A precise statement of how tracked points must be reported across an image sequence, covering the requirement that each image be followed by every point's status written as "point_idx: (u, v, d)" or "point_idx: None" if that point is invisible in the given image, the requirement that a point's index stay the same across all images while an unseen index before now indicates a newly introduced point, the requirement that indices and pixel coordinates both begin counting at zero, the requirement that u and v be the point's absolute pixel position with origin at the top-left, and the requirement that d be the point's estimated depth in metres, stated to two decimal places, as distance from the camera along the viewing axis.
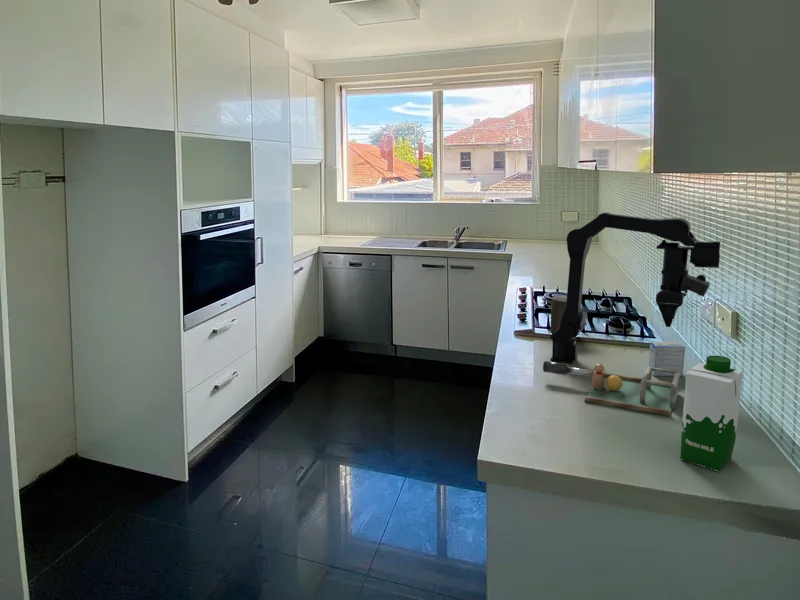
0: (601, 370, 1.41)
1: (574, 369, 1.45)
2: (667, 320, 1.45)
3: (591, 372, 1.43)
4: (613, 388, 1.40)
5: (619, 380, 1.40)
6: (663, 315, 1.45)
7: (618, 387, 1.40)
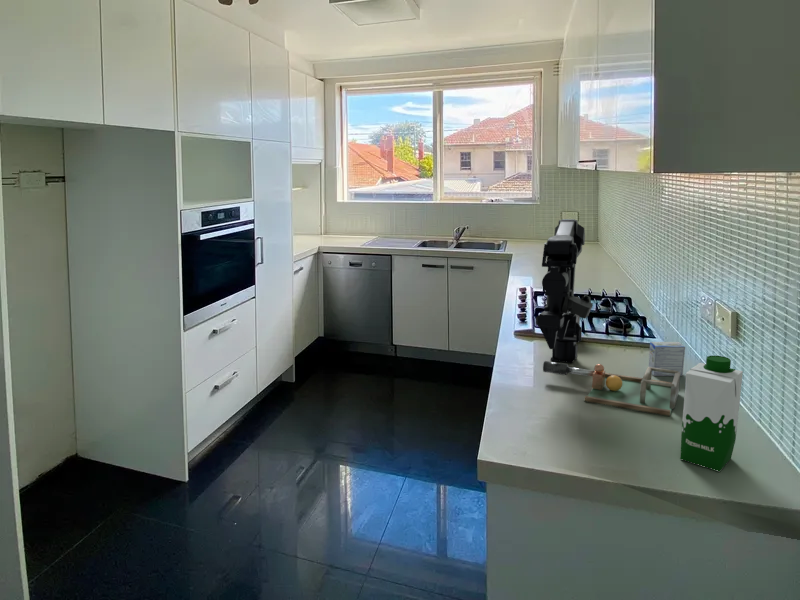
0: (601, 370, 1.41)
1: (574, 369, 1.45)
2: (550, 342, 1.43)
3: (591, 372, 1.43)
4: (613, 388, 1.40)
5: (619, 380, 1.40)
6: (545, 337, 1.42)
7: (618, 387, 1.40)
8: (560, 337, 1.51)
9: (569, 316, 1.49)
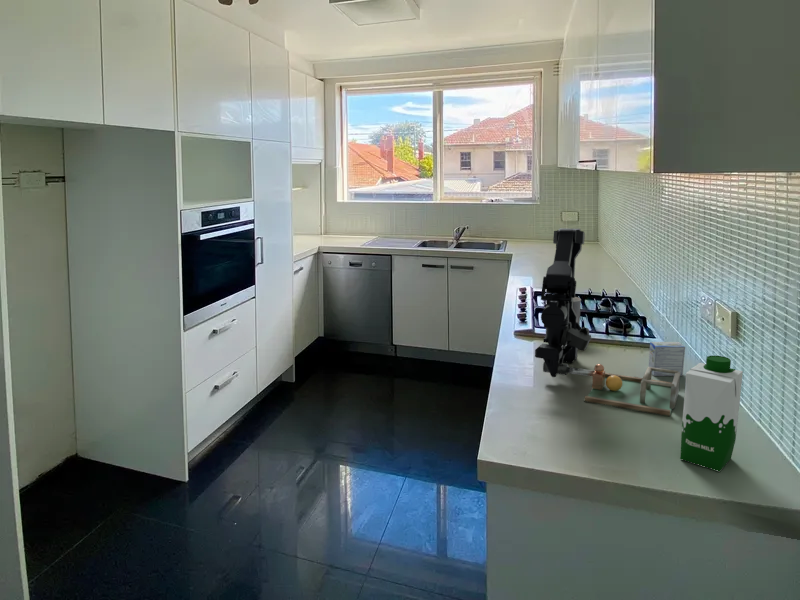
0: (601, 370, 1.41)
1: (574, 369, 1.45)
2: (552, 371, 1.47)
3: (591, 372, 1.43)
4: (613, 388, 1.40)
5: (619, 380, 1.40)
6: (548, 366, 1.47)
7: (618, 387, 1.40)
8: None
9: (565, 350, 1.48)
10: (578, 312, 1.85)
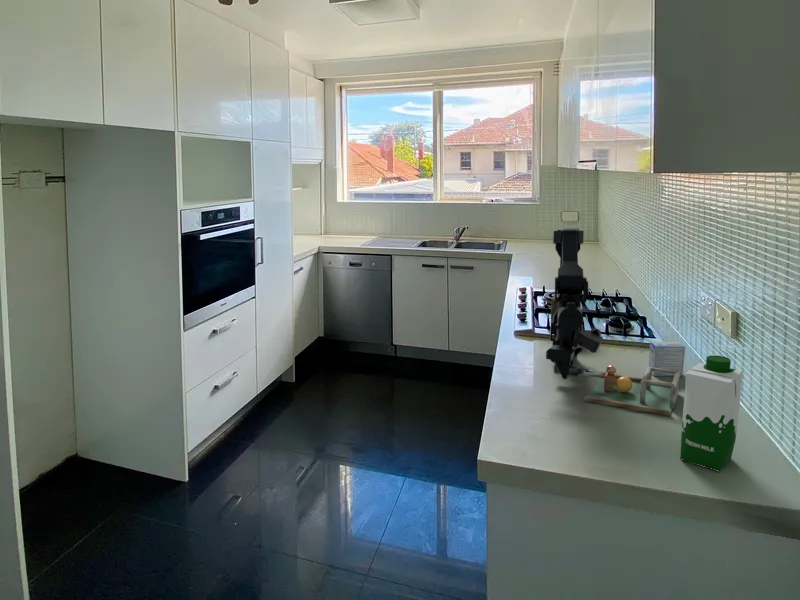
0: (613, 372, 1.40)
1: (585, 371, 1.44)
2: (563, 372, 1.45)
3: (603, 374, 1.42)
4: (619, 388, 1.39)
5: (630, 389, 1.39)
6: (559, 367, 1.45)
7: (622, 391, 1.39)
8: None
9: (576, 351, 1.47)
10: None
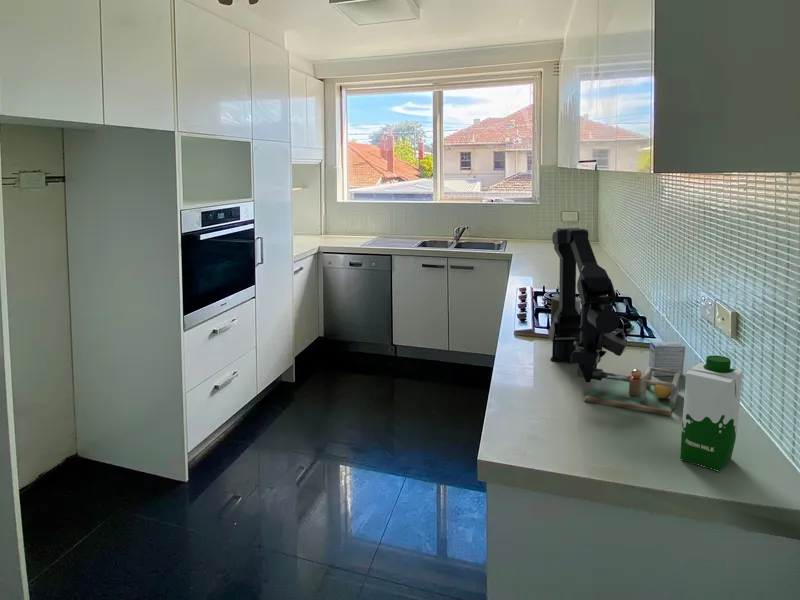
0: (638, 375, 1.37)
1: (609, 374, 1.41)
2: (586, 376, 1.42)
3: (628, 377, 1.39)
4: (664, 395, 1.34)
5: None
6: (582, 371, 1.42)
7: (668, 391, 1.34)
8: None
9: (599, 354, 1.44)
10: (578, 312, 1.85)
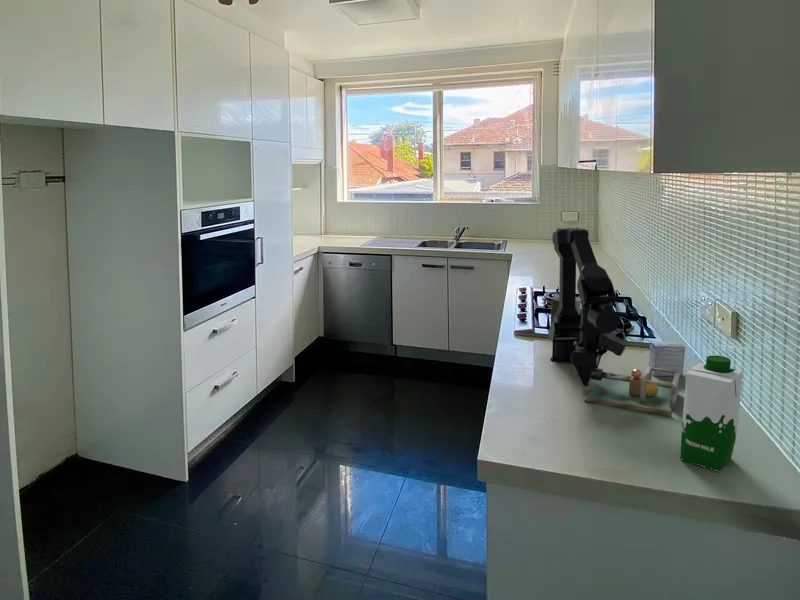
0: (639, 375, 1.37)
1: (610, 374, 1.41)
2: (584, 380, 1.40)
3: (628, 377, 1.39)
4: (651, 388, 1.35)
5: None
6: (580, 374, 1.40)
7: (647, 384, 1.36)
8: None
9: (602, 351, 1.46)
10: (578, 312, 1.85)
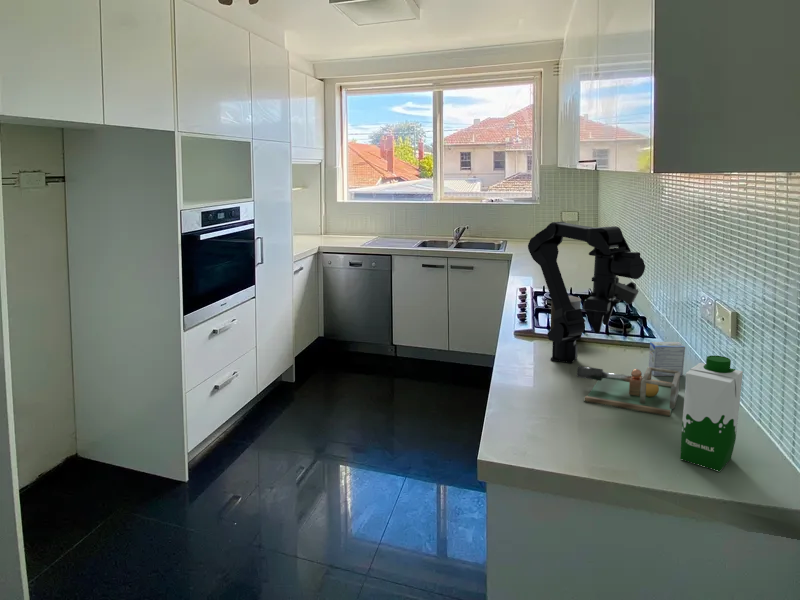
0: (639, 375, 1.37)
1: (610, 374, 1.41)
2: (596, 326, 1.48)
3: (628, 377, 1.39)
4: (651, 389, 1.35)
5: None
6: (592, 321, 1.48)
7: (648, 384, 1.36)
8: (604, 323, 1.57)
9: (614, 302, 1.55)
10: None
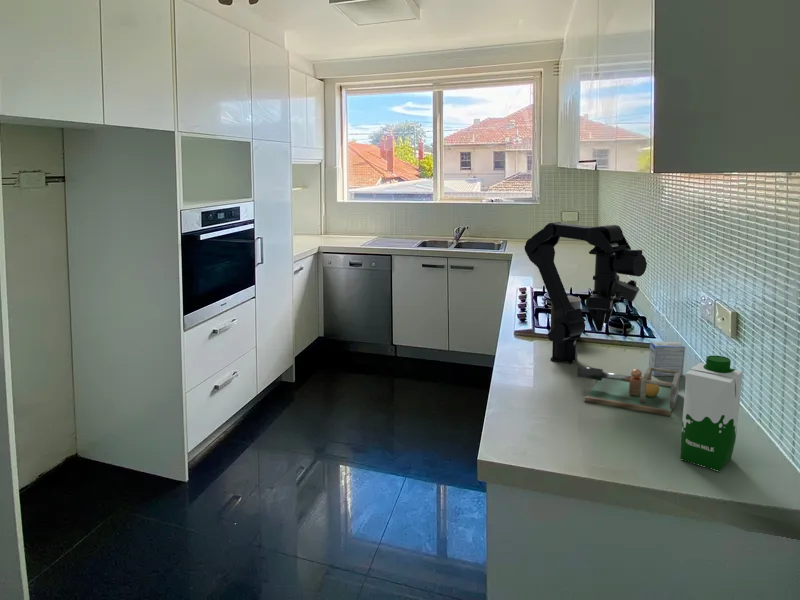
0: (639, 375, 1.37)
1: (610, 374, 1.41)
2: (598, 325, 1.49)
3: (628, 377, 1.39)
4: (652, 389, 1.35)
5: None
6: (594, 320, 1.49)
7: (649, 385, 1.36)
8: (605, 321, 1.58)
9: (614, 300, 1.56)
10: None
